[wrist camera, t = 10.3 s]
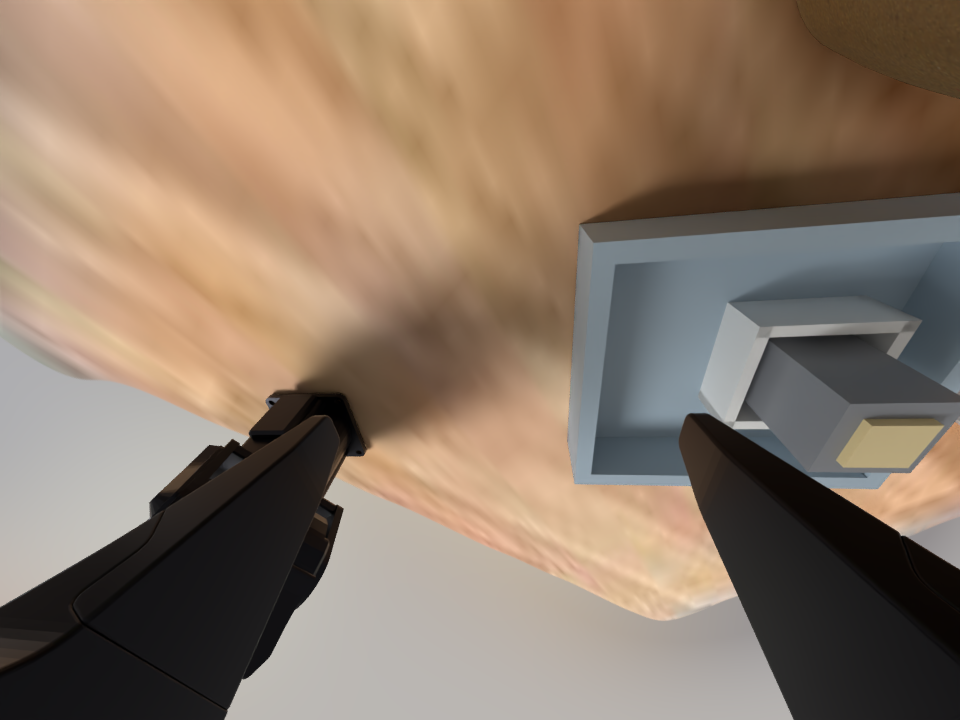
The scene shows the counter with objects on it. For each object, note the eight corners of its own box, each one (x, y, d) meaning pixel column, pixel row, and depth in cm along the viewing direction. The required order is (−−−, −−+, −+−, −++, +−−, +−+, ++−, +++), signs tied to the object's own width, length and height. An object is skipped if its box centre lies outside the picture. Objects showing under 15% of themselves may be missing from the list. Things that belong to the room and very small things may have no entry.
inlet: (811, 395, 21) (850, 428, 19) (697, 396, 22) (720, 429, 20) (865, 295, 18) (922, 320, 15) (727, 302, 19) (759, 327, 16)
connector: (798, 379, 21) (919, 480, 14) (727, 381, 21) (814, 479, 15) (827, 320, 18) (984, 409, 12) (748, 323, 19) (859, 410, 13)
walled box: (827, 440, 24) (877, 488, 21) (567, 440, 26) (574, 484, 23) (984, 190, 15) (1114, 203, 12) (579, 224, 18) (593, 242, 14)
